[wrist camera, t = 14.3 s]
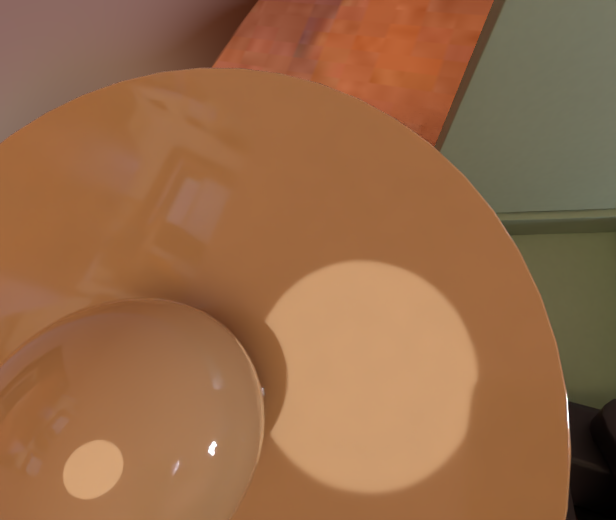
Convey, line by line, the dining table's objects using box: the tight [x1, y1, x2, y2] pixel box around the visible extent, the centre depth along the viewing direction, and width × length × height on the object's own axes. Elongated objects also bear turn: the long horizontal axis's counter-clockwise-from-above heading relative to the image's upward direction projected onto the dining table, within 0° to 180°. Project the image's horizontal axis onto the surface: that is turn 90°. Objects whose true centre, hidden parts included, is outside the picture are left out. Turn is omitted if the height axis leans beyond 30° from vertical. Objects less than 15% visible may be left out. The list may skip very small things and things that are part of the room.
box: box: [496, 208, 616, 410], centre depth 25 cm, size 16×20×6 cm
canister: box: [0, 68, 571, 520], centre depth 9 cm, size 8×8×16 cm
